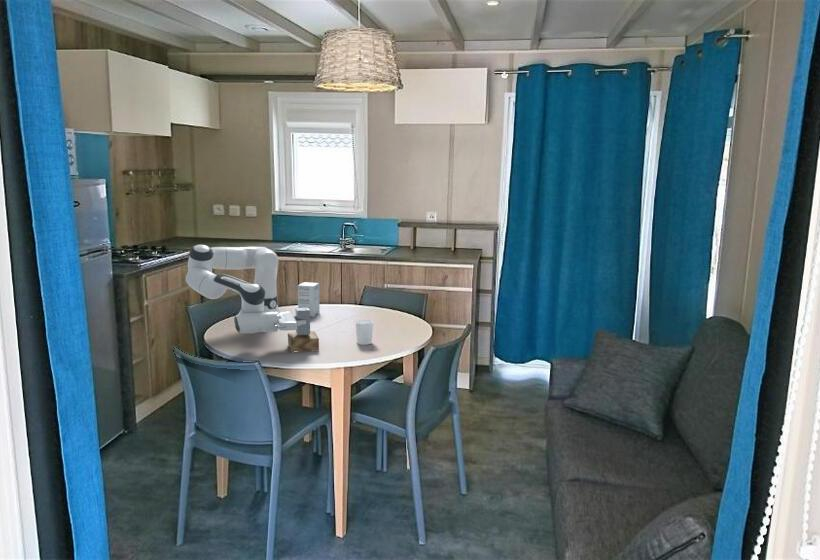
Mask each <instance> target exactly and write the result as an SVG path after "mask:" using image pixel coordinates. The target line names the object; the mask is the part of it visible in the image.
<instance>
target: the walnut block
mask: <svg viewBox="0 0 820 560" xmlns="http://www.w3.org/2000/svg"><path fill="white" fill-rule="evenodd" d="M288 345H289V346H288ZM287 346H288V348H289V347H290V348H289V350H290V349H291V350H290V353H291V352H294V351H308V352H313V351H312V350H319V351H320V338H319V336H318V335H317V333H316V331H311V330H310V335H297V333H296V332H288V333H287ZM294 353H295V352H294Z"/></svg>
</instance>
